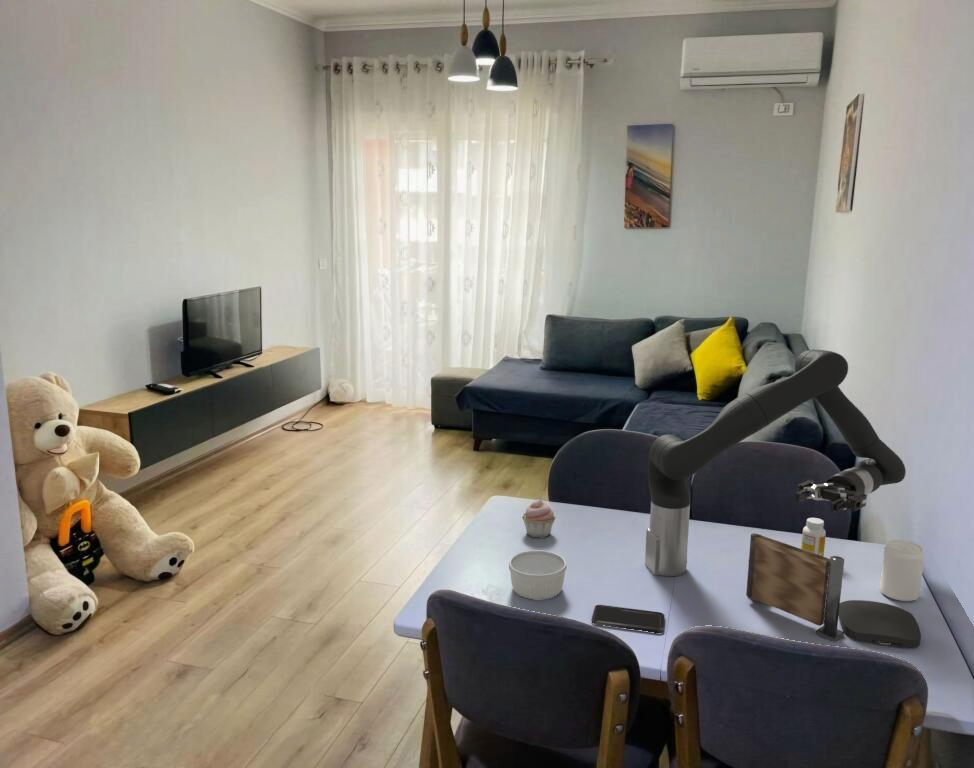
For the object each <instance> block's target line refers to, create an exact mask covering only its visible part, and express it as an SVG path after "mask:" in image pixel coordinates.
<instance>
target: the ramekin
mask: <svg viewBox="0 0 974 768" xmlns="http://www.w3.org/2000/svg"><path fill="white" fill-rule="evenodd" d="M508 569H509V572H510V581H511V587H512V589H513V590H514V592H515V593H516V594H517V595H518V596H520V597H521V596H522V598H523V597H524V599H526V598H528V599H527V600H530V599H533V600H532V601H544V600H543V599H546V600H550V599H553V598H554V596H555V597H556V596H558V595H559V594H560V593H561V591H562V589H563V586H564V581H565V574H566V570H567V562H566V560H565V558H564V557H562V556H561V555H560V554H557V553H555V552H552V551H549V550H548V551H547V550H542V549H539V550H538V549H534V550H533V549H531V550H525V551H521V552H518V553H516V554H513V555H512V556H511V557H510V559H509V561H508ZM557 594H558V595H557ZM552 597H553V598H552ZM549 598H550V599H549Z"/></svg>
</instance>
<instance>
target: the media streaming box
mask: <svg viewBox="0 0 974 768" xmlns="http://www.w3.org/2000/svg"><path fill="white" fill-rule="evenodd" d="M838 621H839V623H840V627H841V631H843V632H844V635H845V636H846V637H847V638H849V639H851V640H853V641H856V642H859V643H866V644H871V645H876V646H884V647H891V648H899V649H906V650H909V649H916V648H918V647H919V646H920V645H921V638H922V632H921V628H920V626H919V623H918V621H917V619H916V617H915V616H914V615H913V613H911V612H909V611H908V610H906V609H904V608H902V607H900V606H897V605H893V604H889V603H884V602H880V601H872V600H863V599H862V600H861V599H860V600H859V599H854V600H853V599H849V600H844V601H840V606H839V615H838Z"/></svg>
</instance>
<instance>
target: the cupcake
mask: <svg viewBox="0 0 974 768" xmlns="http://www.w3.org/2000/svg"><path fill="white" fill-rule="evenodd" d="M554 514H555V513H554V510H553V509H552V508H551V507H550V505H549V504H548V503H546V502H544V501H542V499H541V498H538V499H536V500H534V501H532V502H531V504H529V506H527V508H526V510H525V512H524V513H523V515H522V517H521V518H522V521H523V523H524V526H525V531H526V534H527V535H528V536H529V535H530V536H529V537H531V536H533V537H532V538H535V537H543V538H546V537H545V536H547V537H548V535H549V534H551V532H552V528H553V525H554V523H555V521H556V518H557V517H556V516H555V515H554ZM549 536H550V535H549Z"/></svg>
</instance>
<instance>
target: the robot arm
mask: <svg viewBox="0 0 974 768" xmlns="http://www.w3.org/2000/svg"><path fill="white" fill-rule="evenodd" d="M794 372H795V373H793V374H792V375H790V376H788V377H785V378H783V379H780V380H778V381H773V382H769V383H767V384H763V385H761V386H757V387H755V388H753V389H751V390H749V391H747V392H745V393H743V394H741V395H740V396H738V397H736V398H735V399H733V400H732V401H730V402H729V403H727V404H726V405H725V406H724V407H723V408H722V409H721V411H719V413H718V414H717V415H716V417H715V419H714V420H713V422H712V423H711V424H710V425H709V426H708V427H706V428H705V429H704V430H703V431H701V432H699V433H698V434H695V435H694V436H692V437H690V438H688V439H686V440H683V439H681V438H680V437H678V436H676V435H674V434H663V435H660V436H659V437H657V438H656V439H655V440H654V441H653V442H652V445H651V447H650V450H649V452H648V453H649V455H648V486H649V487H648V488H649V492H650V513H649V514H650V516H649V527H648V528H646V532H645V534H646V535H645V536H646V537H645V551H644V552H645V553H644V555H645V557H644V564H645V566H646V567H647V569H648V570H650V572H651V574H653V575H660V576H665V577H666V576H667V577H678V576H681V575H683V574H685V573H686V572H687V564H688V546H689V544H688V543H689V532H690V531H689V527H690V511H691V491H690V490H689V488H688V486H687V482H686V479H688V478H690V477H691V476H693V475H695V474H696V473H697V472H698V471H700V470H702V468H704V467H705V466H706V465H708V464H709V463H710V462H711V461H713V460H714V459H716V458H717V457H718V456H719V455H721V454H722V453H724V452H726V451H728V450H730V449H731V448H733V447H735V445H738V444H739V443H740V442H742V441H743V440H745V439H748V438H749V437H750V436H752V435H754V434H757V433H758V432H759V431H761V430H762V429H765V428H766V427H767V426H769V425H771V424H772V423H774V422H775V421H777V420H778V419H780V418H781V417H784V416H785V415H787V414H788V413H790V412H791V411H793V410H794V409H796V408H797V407H798V408H799V406H801V405H803V404H804V403H806V402H808V401H810V400H813V399H815V400H816V401H817V403H819V405H820V406H821V407H822V408H823V410H824V411H825V413H827V415H828V416H829V418H830V419H831V421H832V422H833V423H834V425H835V427H836V428H837V429H838V431H839V432H840V434H841V436H842V437H843V439H844V441H845V443H846V444H847V446H848V447H849V449H850V450H851V452H852V453H853V455H854V456H856V457H858V458H863V460H860V461H859V462H858V463H857V464H856V465H855V466H853V467H851V468H846V469H844V470H842V471H840V472H838V473H835V474H834V475H832V476H830V477H829V478H828V479H827V480H826V482H825V483H818V484H817V483H815V480H813V479H808V480H806V481H803V482H802V483H799V484H797V492H796V493H795V501H796V502H797V503H802V502H804V501H806V500H808V499H809V500H810V499H812V500H814V501H827V502H828V501H830V502H831V503H830V510H829V511H830V513H837V512H840V511H845V510H847V509H849V511H850V512H857V511H858V510H861V509H862V508H865V507H866V505H867V499H868V498H867V497H868V495H869V494H871V493H874V492H875V491H877V490H878V489H879V488H880V487H881V486H885V485H886V486H887V485H894V484H898V483H900V482H902V481H903V480H904V479H905V477H906V471H907V470H906V467H905V463H904V462H903V460H902V459H901V458H900V457H901V456H899V455H898V454H897V453H896V452H895V451H893V450H892V448H890V447H889V446H888V445H887V444H886V443H885V442H884V441H883V440H882V439H880V437H879V436H878V434H877V432H876V430H875V429H874V427H873V425H872V423H871V422H870V421H869V419H868V418H867V417H866V415H864V413H863V412H862V411H861V410H860V409H859V408H858V407H857V406H856V405H855V404H854V403H853V402H852V401H851V400H850V399H849V398H848V397H847V395H845V393H843V391H842V389H840V386H841V384H842V383H843V382H844V380H846V377H847V375H848V373H849V363H848V361H847V359H846V358H845V357H844V356H843V355H841V354H840V353H838V352H835V351H832V350H831V351H830V350H824V349H809V350H808V349H807V350H805V351H803V352H802V353H800V354H799V355H798V356H797V358H796V360H795V363H794ZM810 493H811V494H810ZM818 494H819V495H818Z"/></svg>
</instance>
